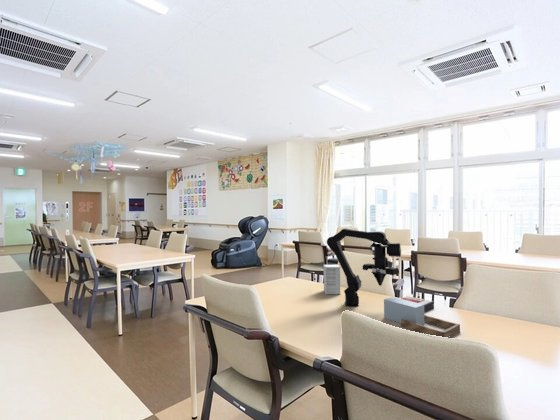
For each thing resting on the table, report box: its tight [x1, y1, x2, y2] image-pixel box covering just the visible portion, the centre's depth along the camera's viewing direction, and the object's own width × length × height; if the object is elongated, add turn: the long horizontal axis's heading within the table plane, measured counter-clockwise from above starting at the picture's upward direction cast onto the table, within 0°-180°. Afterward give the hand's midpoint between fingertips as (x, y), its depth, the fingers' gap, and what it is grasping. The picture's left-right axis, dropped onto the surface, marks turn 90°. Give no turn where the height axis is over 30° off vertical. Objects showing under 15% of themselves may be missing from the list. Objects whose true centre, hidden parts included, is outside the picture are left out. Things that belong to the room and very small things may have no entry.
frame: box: [400, 314, 461, 338], centre depth 132 cm, size 18×14×3 cm
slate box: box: [383, 296, 425, 326], centre depth 142 cm, size 16×7×9 cm, turn 37°
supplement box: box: [323, 264, 341, 295], centre depth 191 cm, size 10×9×17 cm
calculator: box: [400, 295, 435, 313], centre depth 162 cm, size 11×4×15 cm
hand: (380, 285), depth 160 cm, fingers closed
